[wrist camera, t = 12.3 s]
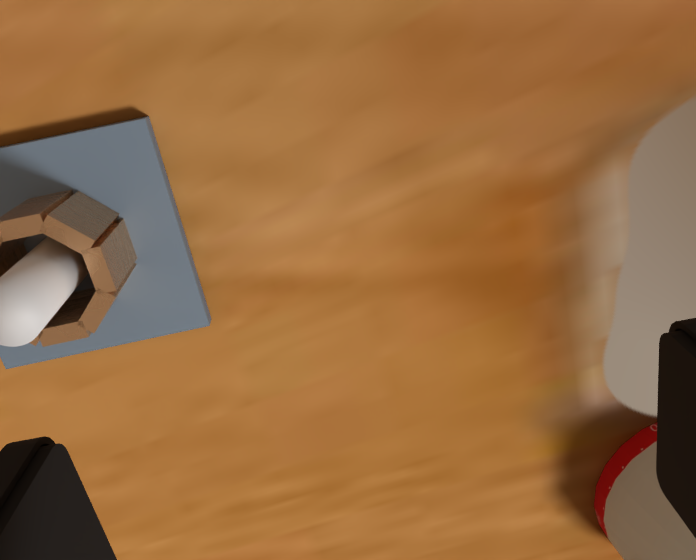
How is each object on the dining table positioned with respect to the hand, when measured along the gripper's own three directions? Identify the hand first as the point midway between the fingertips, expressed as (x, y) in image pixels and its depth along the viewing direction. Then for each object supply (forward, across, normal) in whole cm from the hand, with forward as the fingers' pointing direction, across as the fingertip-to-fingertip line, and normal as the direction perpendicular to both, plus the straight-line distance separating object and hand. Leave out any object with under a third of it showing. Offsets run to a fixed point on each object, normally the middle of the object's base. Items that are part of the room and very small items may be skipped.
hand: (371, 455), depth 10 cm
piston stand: (+28, +16, +4) cm, 33 cm away
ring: (+27, +16, +4) cm, 32 cm away
